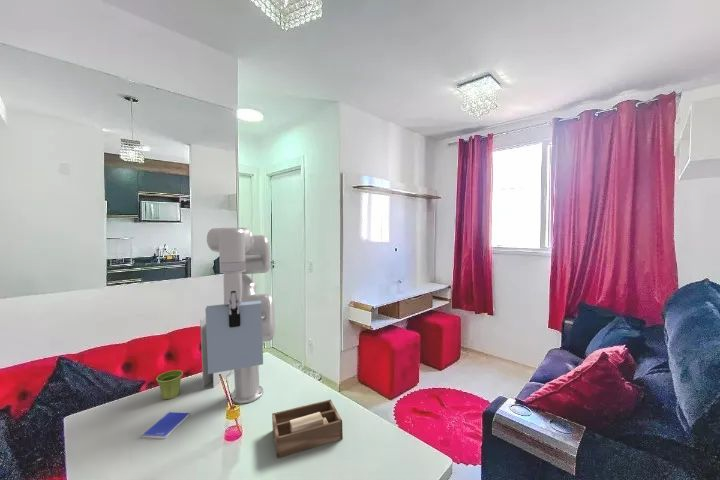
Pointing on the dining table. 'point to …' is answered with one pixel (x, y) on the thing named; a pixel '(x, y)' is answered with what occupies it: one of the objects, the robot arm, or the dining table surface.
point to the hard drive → (165, 425)
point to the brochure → (206, 376)
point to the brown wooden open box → (308, 437)
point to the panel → (234, 337)
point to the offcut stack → (307, 422)
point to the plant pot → (170, 383)
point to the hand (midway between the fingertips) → (235, 323)
